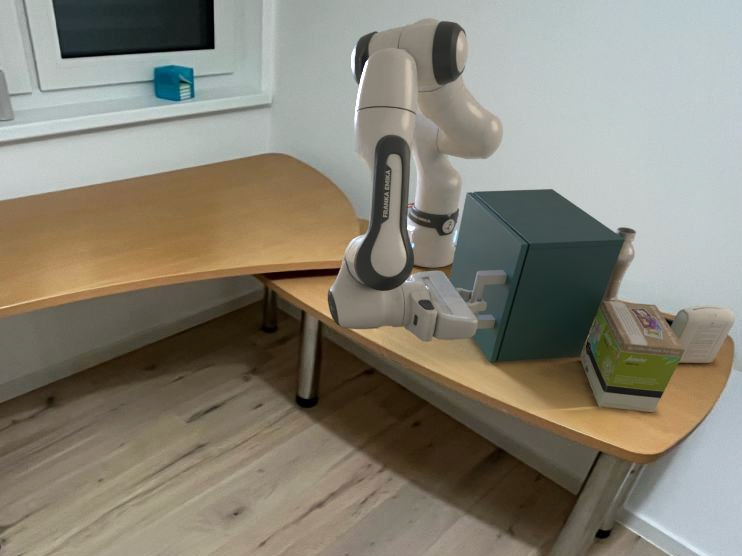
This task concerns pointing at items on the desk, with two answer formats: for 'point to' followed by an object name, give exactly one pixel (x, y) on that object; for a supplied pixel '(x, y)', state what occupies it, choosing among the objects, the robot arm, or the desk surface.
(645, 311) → the tea box
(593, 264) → the box
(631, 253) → the beige vase
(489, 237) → the fridge door
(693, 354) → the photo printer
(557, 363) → the desk surface
